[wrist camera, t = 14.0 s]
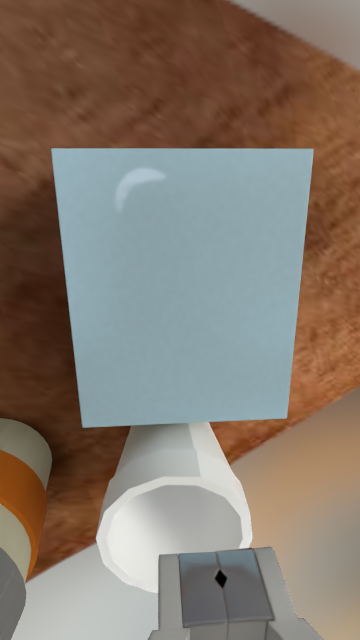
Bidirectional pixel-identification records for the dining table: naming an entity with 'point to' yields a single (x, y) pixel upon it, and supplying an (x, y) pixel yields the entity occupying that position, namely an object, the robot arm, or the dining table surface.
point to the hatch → (182, 280)
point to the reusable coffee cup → (20, 514)
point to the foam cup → (170, 501)
